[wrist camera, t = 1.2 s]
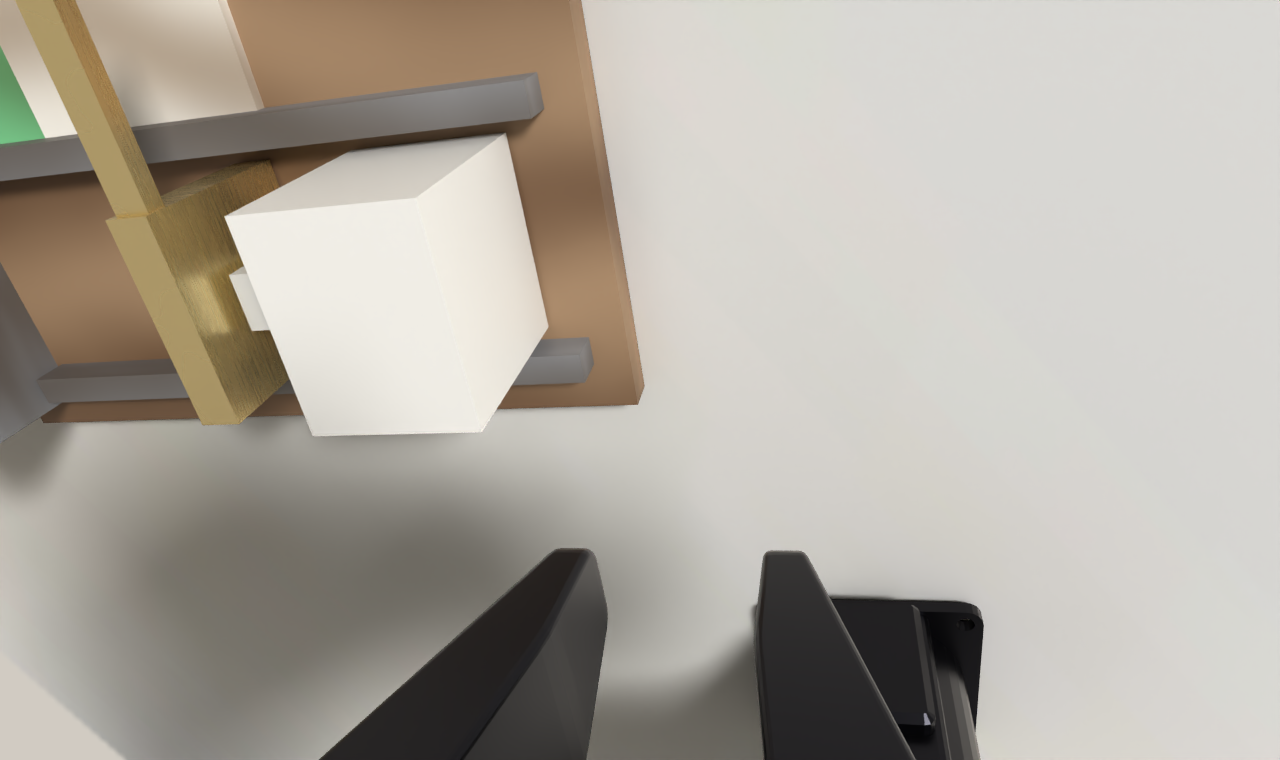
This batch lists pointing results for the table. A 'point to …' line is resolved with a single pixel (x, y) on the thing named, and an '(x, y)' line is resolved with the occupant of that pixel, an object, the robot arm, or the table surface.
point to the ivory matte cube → (395, 286)
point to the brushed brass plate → (167, 230)
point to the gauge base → (296, 175)
